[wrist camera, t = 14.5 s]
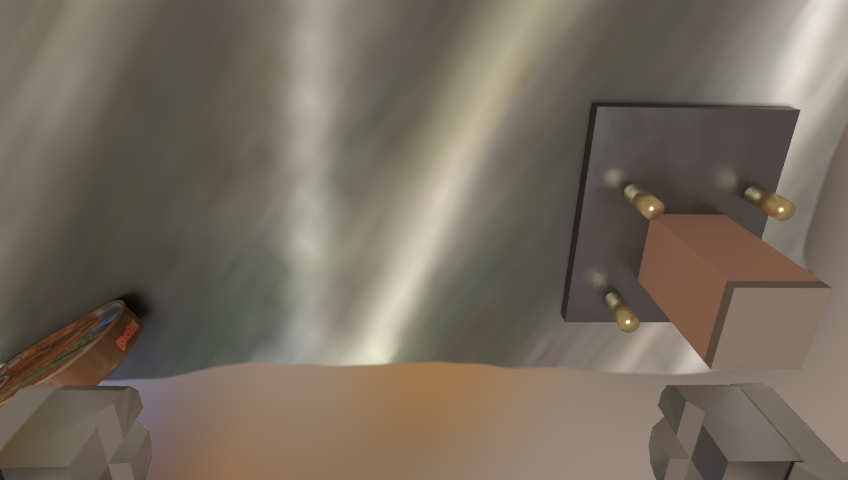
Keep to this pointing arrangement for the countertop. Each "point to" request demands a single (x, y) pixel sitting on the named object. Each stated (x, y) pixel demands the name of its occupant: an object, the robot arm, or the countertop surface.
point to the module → (731, 292)
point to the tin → (75, 352)
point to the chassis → (665, 192)
